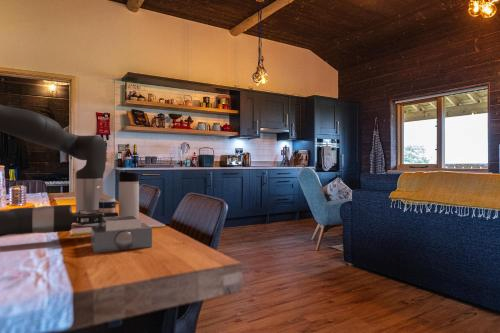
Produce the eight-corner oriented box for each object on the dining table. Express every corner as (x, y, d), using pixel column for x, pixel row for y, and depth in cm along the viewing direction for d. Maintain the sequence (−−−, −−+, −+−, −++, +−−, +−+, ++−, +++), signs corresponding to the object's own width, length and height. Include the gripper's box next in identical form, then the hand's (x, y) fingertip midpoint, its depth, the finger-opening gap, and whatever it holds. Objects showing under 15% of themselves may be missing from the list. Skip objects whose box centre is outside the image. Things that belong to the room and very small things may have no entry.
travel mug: (113, 233, 108) (114, 171, 108) (126, 229, 114) (127, 171, 114) (130, 234, 106) (130, 171, 106) (142, 230, 112) (142, 171, 112)
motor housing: (91, 245, 91) (91, 217, 91) (143, 239, 98) (144, 214, 98) (94, 254, 81) (94, 223, 81) (152, 247, 88) (152, 219, 88)
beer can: (118, 236, 103) (118, 197, 103) (110, 239, 99) (110, 198, 99) (103, 235, 104) (104, 197, 104) (95, 238, 99) (95, 198, 99)
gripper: (51, 208, 88) (120, 205, 96) (53, 203, 100) (113, 200, 109) (51, 236, 88) (120, 231, 96) (52, 228, 100) (113, 223, 109)
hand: (116, 215), depth 103 cm, fingers closed on beer can, 4 cm apart
